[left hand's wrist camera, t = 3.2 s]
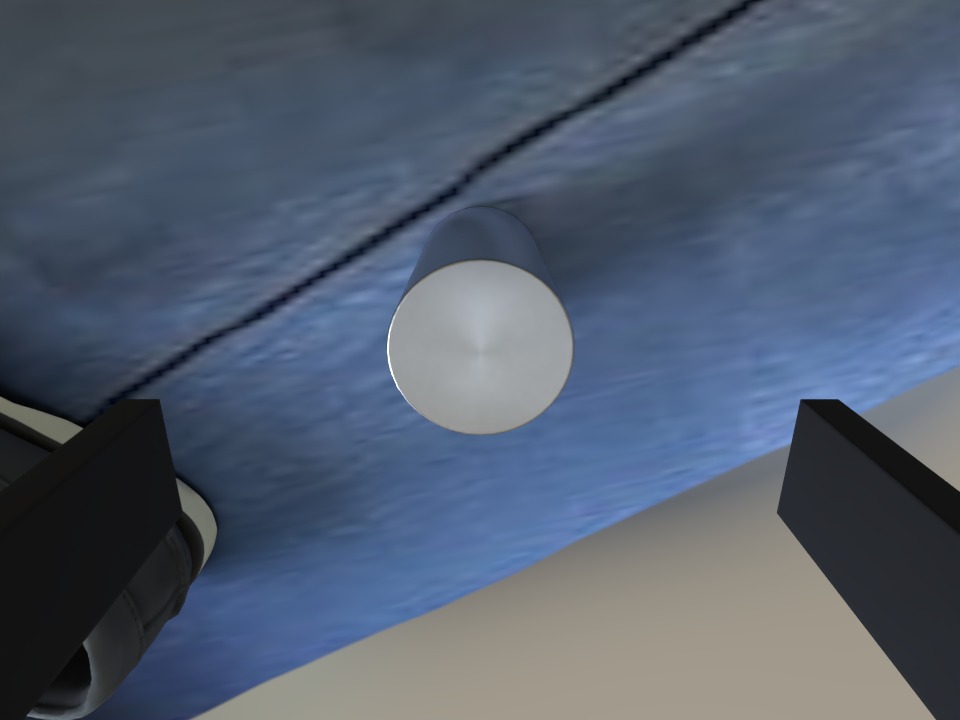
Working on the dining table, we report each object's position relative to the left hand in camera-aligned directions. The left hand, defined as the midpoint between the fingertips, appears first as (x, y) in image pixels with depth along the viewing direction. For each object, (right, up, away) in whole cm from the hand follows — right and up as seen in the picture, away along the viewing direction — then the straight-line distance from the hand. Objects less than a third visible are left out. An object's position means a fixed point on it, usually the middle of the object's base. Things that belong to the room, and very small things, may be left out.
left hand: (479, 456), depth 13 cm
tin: (0, +7, +16) cm, 17 cm away
